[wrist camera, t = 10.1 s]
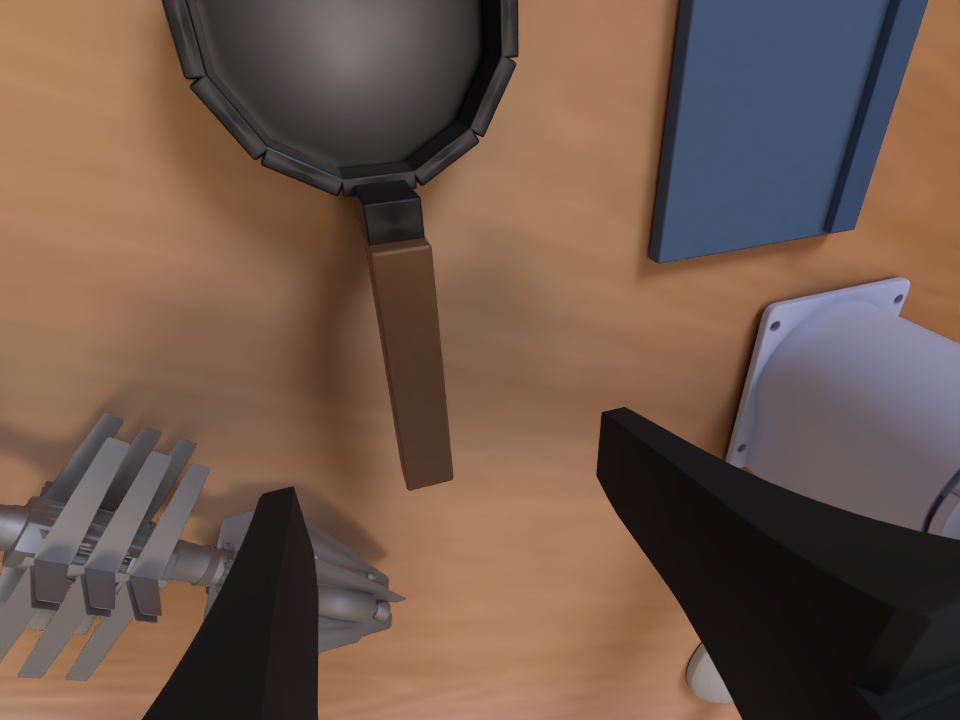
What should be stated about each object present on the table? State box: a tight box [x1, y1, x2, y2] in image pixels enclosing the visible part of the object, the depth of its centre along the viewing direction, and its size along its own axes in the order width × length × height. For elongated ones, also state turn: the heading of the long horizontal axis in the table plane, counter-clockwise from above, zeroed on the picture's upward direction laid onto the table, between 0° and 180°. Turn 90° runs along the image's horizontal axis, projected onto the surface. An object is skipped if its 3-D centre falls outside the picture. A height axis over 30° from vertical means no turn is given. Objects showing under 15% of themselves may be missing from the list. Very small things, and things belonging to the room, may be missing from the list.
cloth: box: [649, 0, 928, 264], centre depth 18 cm, size 14×9×1 cm, turn 3°
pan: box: [162, 0, 518, 491], centre depth 14 cm, size 16×8×5 cm, turn 2°
